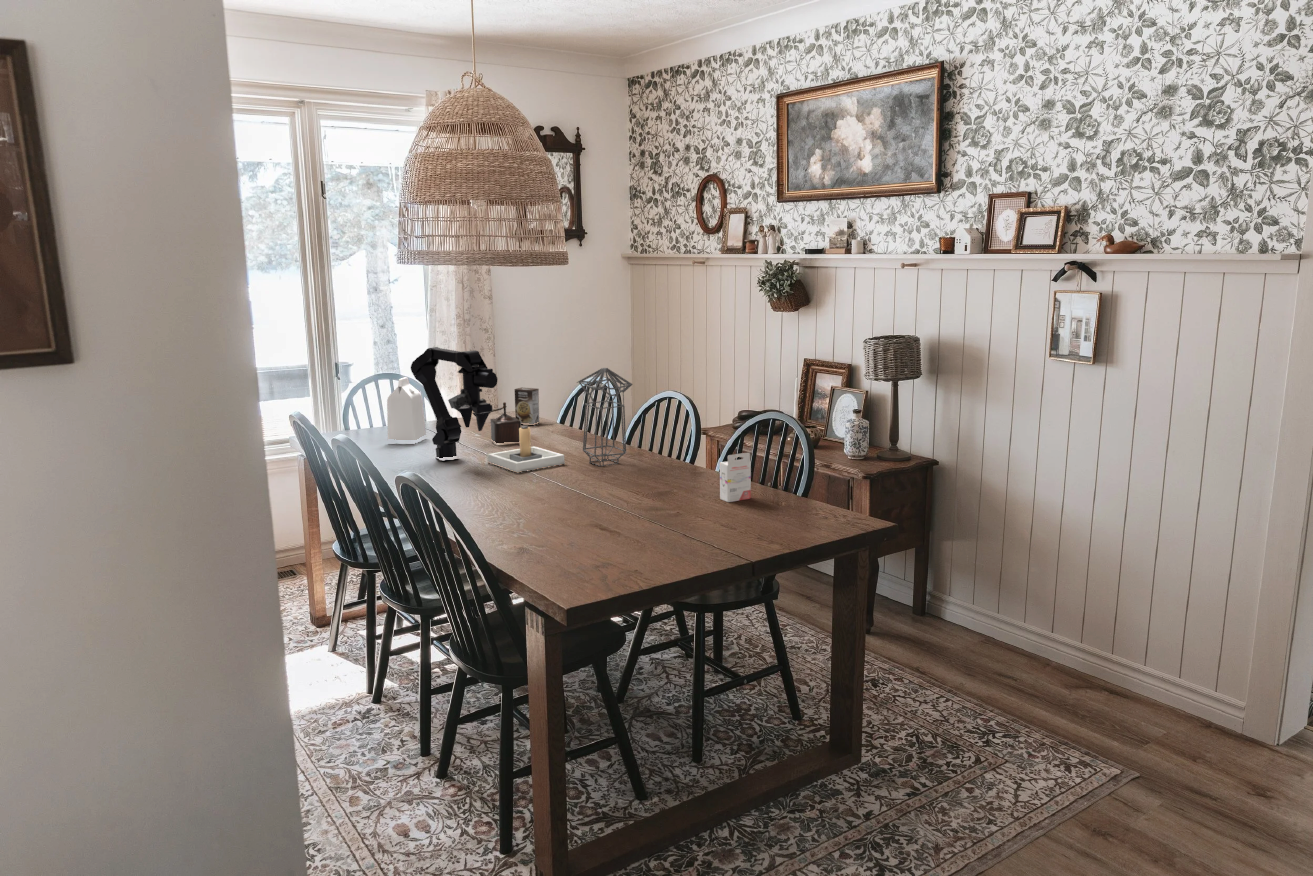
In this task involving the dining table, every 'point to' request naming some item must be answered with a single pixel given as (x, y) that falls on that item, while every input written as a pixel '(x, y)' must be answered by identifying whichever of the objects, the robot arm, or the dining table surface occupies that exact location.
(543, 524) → the dining table surface
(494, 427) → the manual coffee grinder
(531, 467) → the walled box
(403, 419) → the milk
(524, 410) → the coffee box
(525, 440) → the tan bottle
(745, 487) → the ink cartridge box
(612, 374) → the geometric lantern
